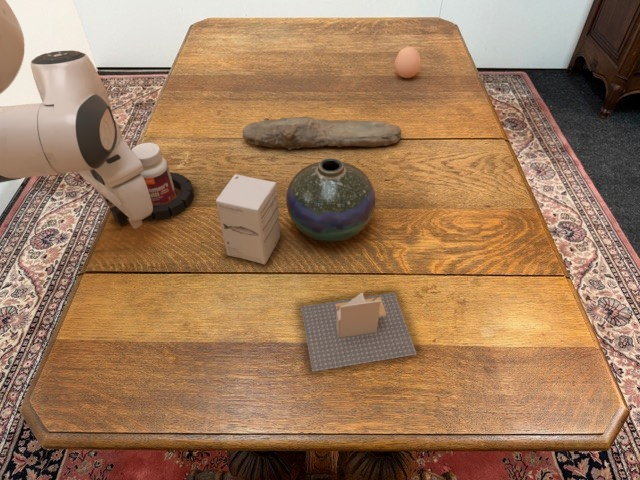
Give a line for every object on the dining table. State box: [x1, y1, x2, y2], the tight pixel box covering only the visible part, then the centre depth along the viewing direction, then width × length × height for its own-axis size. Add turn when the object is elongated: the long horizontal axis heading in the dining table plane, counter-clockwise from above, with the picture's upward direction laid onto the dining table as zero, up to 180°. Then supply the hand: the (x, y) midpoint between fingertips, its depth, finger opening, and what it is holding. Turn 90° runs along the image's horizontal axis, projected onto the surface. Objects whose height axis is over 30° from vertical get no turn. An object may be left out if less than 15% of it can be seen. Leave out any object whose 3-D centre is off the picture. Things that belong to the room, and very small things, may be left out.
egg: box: [394, 46, 422, 79], centre depth 123 cm, size 7×7×8 cm
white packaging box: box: [215, 173, 281, 265], centre depth 78 cm, size 7×7×13 cm
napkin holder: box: [335, 292, 387, 338], centre depth 68 cm, size 3×7×7 cm, turn 100°
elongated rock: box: [241, 116, 402, 151], centre depth 104 cm, size 35×5×10 cm
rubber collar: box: [109, 171, 194, 227], centre depth 89 cm, size 15×12×3 cm
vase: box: [285, 157, 376, 243], centre depth 81 cm, size 15×15×13 cm
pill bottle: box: [131, 142, 177, 206], centre depth 87 cm, size 6×6×11 cm
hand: (123, 213), depth 87 cm, fingers open, 7 cm apart
